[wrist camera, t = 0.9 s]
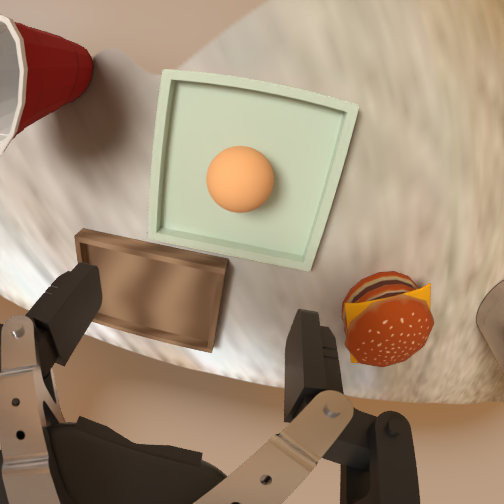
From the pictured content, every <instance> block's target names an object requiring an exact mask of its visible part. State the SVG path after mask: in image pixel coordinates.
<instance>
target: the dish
mask: <svg viewBox="0 0 504 504" xmlns="http://www.w3.org/2000/svg"><path fill="white" fill-rule="evenodd" d="M359 106H360V105H357V104H353V103H350V102H347V101H344V100H340V99H337V98H333V97H330V96H326V95H322V94H318V93H314V92H310V91H306V90H302V89H298V88H294V87H289V86H284V85H280V84H275V83H270V82H265V81H259V80H253V79H248V78H241V77H235V76H228V75H221V74H213V73H204V72H194V71H183V70H169V69H163V71H162V77H161V84H160V91H159V98H158V106H157V114H156V122H155V131H154V141H153V152H152V164H151V178H150V194H149V217H148V239H151V240H156V241H160V242H165V243H170V244H175V245H180V246H185V247H189V248H194V249H199V250H204V251H209V252H214V253H219V254H224V255H229V256H233V257H238V258H243V259H248V260H253V261H258V262H263V263H268V264H273V265H278V266H283V267H288V268H293V269H298V270H303V271H308V272H310V270H311V267H312V264H313V261H314V258H315V255H316V252H317V249H318V246H319V243H320V240H321V237H322V234H323V231H324V228H325V225H326V221H327V218H328V215H329V212H330V209H331V206H332V202H333V199H334V196H335V192H336V189H337V186H338V182H339V179H340V176H341V172H342V169H343V165H344V162H345V158H346V155H347V151H348V147H349V144H350V140H351V136H352V133H353V129H354V125H355V121H356V117H357V114H358V110H359ZM234 146H246V147H251V148H253V149H256V150H257V151H259V152H260V153H262V154H263V155H264V156H265V157H266V158H267V160H268V161H269V163H270V164H271V167H272V169H273V173H274V185H273V189H272V192H271V194H270V196H269V198H268V199H267V200H266V201H265V203H263V204H262V205H261V206H260V207H258V208H257V209H255V210H252V211H249V212H244V213H236V212H231V211H228V210H225V209H224V208H222V207H220V206H219V205H218V204H217V203H216V202H215V201H214V200H213V199H212V197H211V196H210V194H209V191H208V188H207V183H206V177H207V171H208V168H209V165H210V164H211V162H212V160H213V159H214V158H215V157H216V156H217V155H218V154H219V153H220V152H222V151H223V150H225V149H227V148H230V147H234Z"/></svg>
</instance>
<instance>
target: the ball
mask: <svg viewBox="0 0 504 504" xmlns="http://www.w3.org/2000/svg"><path fill="white" fill-rule="evenodd" d="M206 183H207V188H208V191H209V194H210V196H211V197H212V199H213V200H214V201H215V202H216V203H217V204H218V205H219V206H220V207H222V208H224V209H225V210H228V211H231V212H236V213H244V212H249V211H252V210H255V209H257V208H258V207H260V206H261V205H262V204H263V203H265V201H266V200H267V199H268V198H269V196H270V194H271V192H272V189H273V185H274V173H273V169H272V167H271V164H270V163H269V161H268V160H267V158H266V157H265V156H264V155H263V154H262V153H260V152H259V151H257V150H256V149H253V148H251V147H246V146H234V147H230V148H227V149H225V150H223V151H222V152H220V153H219V154H218V155H217V156H216V157H215V158H214V159H213V160H212V162H211V164H210V165H209V168H208V171H207V177H206Z"/></svg>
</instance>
